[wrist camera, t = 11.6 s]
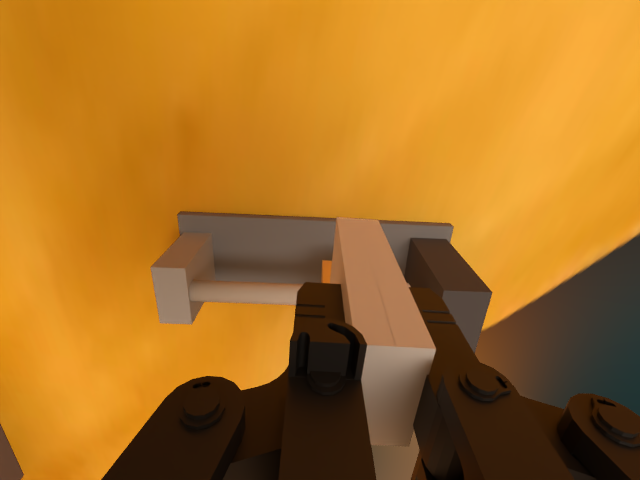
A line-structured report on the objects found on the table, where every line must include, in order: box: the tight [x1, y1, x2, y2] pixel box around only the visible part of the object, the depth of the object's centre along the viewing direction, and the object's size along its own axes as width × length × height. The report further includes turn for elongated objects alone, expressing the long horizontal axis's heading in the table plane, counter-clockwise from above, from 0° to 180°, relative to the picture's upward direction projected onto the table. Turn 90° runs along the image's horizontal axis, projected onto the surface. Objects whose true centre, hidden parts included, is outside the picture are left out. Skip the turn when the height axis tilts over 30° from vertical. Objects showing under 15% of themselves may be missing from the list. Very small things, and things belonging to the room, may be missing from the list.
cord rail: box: [151, 212, 492, 353], centre depth 35 cm, size 30×10×12 cm, turn 87°
